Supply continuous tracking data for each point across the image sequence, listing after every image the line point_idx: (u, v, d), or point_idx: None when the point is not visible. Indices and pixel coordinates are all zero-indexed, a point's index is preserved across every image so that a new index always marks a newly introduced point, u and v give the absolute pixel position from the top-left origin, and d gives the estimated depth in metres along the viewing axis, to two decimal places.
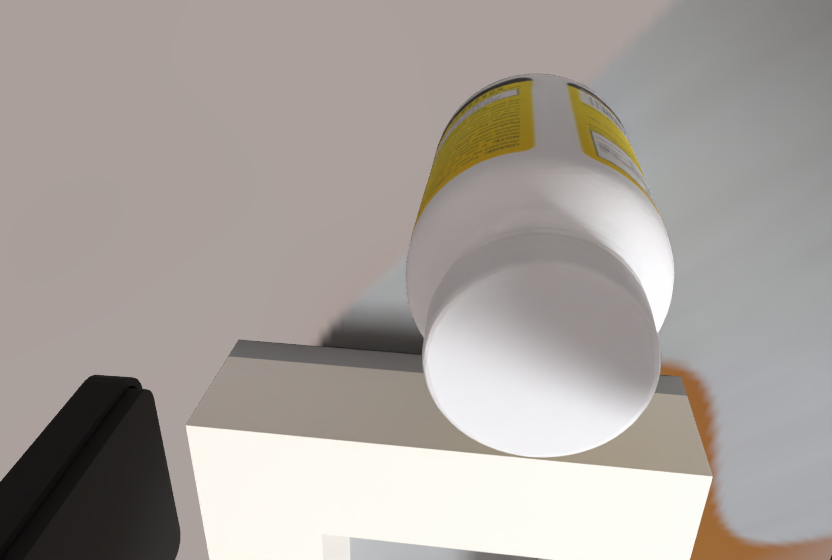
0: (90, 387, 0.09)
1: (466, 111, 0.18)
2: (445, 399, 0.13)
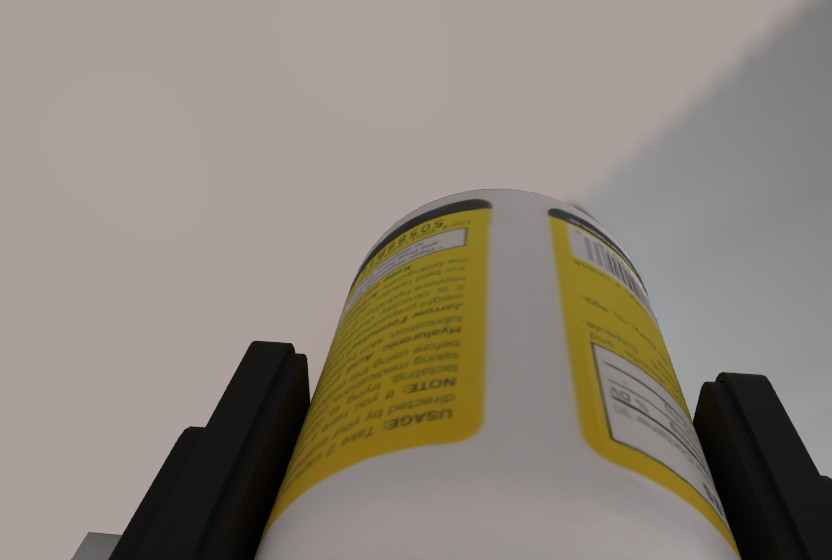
0: (257, 351, 0.10)
1: (384, 260, 0.11)
2: None
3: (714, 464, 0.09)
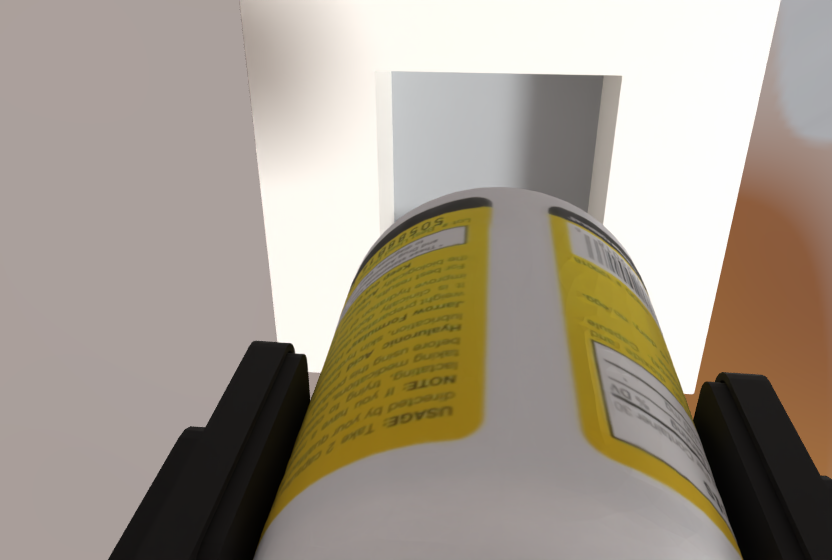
0: (257, 351, 0.10)
1: (384, 258, 0.11)
2: None
3: (714, 464, 0.09)
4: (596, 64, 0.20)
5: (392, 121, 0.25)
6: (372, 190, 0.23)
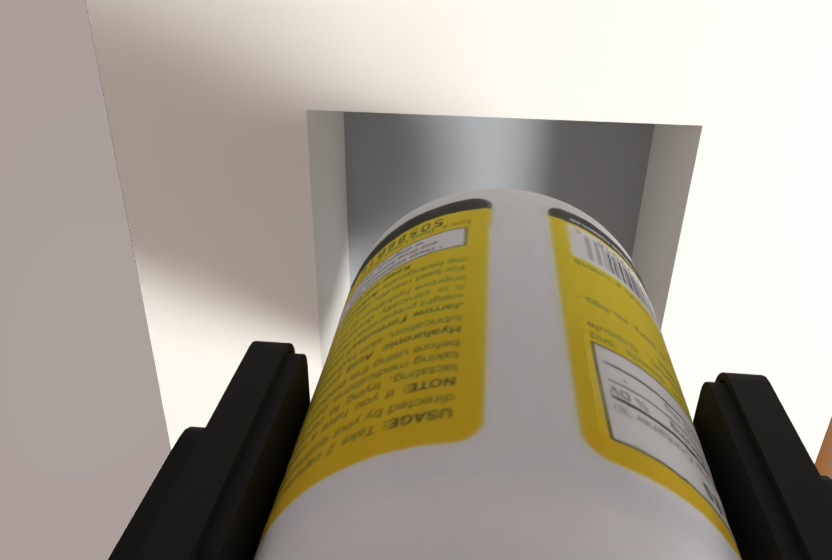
0: (257, 351, 0.10)
1: (384, 259, 0.11)
2: None
3: (714, 464, 0.09)
4: (661, 107, 0.13)
5: (345, 174, 0.17)
6: (307, 288, 0.15)
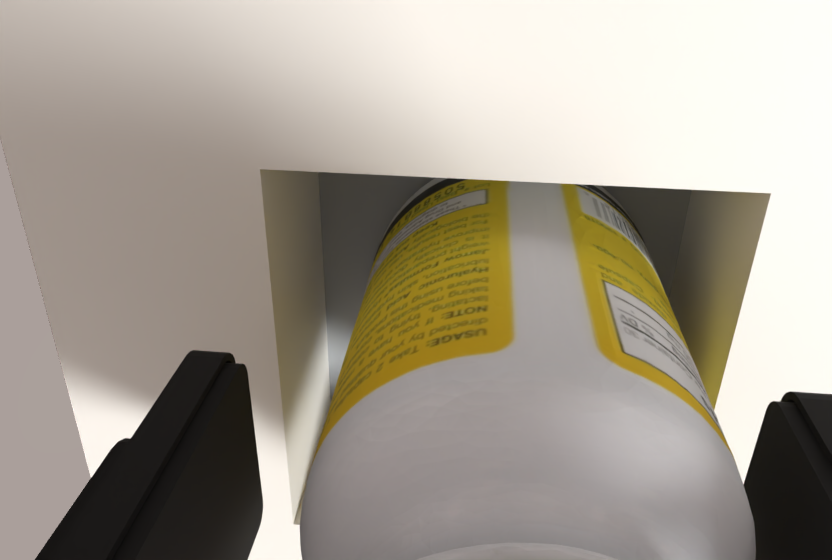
0: (193, 360, 0.09)
1: (411, 219, 0.12)
2: None
3: (786, 488, 0.09)
4: (718, 170, 0.10)
5: (321, 228, 0.15)
6: (267, 381, 0.12)
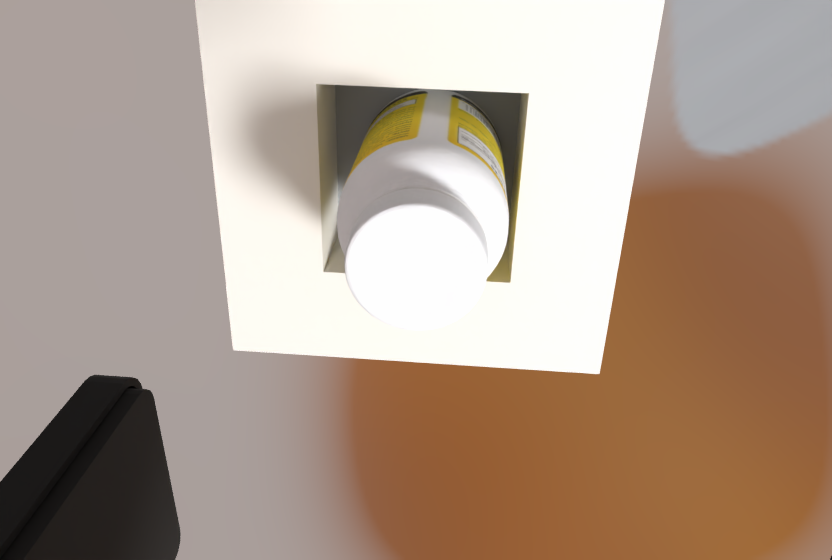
0: (90, 387, 0.09)
1: (381, 115, 0.26)
2: (360, 292, 0.20)
3: None
4: (506, 83, 0.24)
5: (336, 128, 0.28)
6: (314, 189, 0.26)
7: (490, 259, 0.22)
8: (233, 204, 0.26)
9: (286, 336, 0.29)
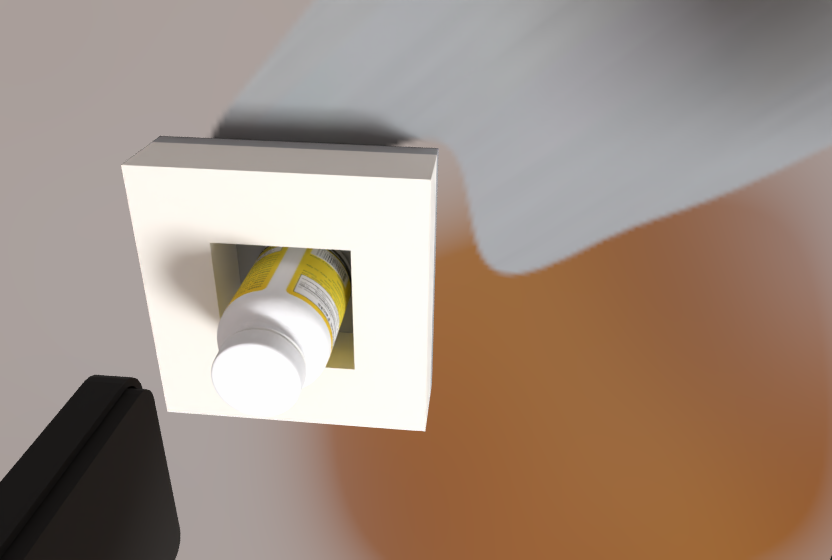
0: (90, 387, 0.09)
1: (261, 255, 0.38)
2: (222, 394, 0.32)
3: None
4: (335, 244, 0.35)
5: (237, 256, 0.40)
6: (214, 307, 0.37)
7: (316, 366, 0.34)
8: (160, 316, 0.38)
9: (204, 402, 0.41)
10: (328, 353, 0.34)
